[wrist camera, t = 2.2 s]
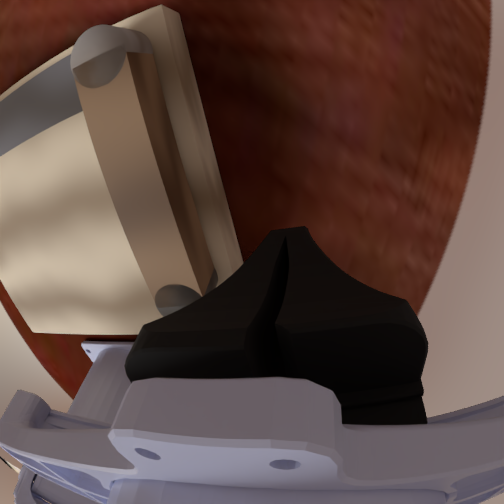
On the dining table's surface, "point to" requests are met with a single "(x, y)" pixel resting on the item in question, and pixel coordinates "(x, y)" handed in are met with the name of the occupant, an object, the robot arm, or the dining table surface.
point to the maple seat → (94, 195)
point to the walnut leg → (142, 163)
